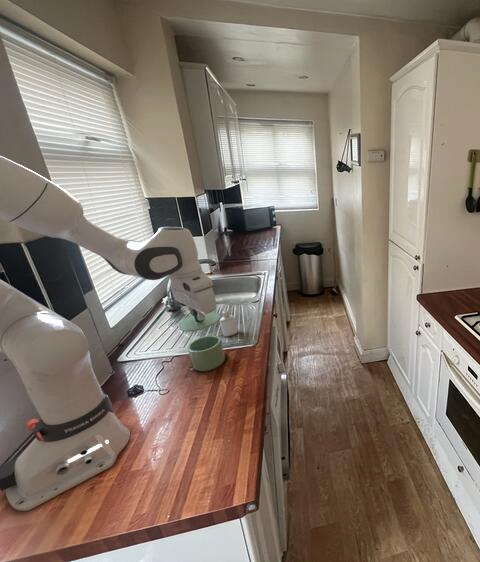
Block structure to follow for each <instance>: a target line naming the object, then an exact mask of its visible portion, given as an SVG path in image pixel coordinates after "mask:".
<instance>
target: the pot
mask: <svg viewBox="0 0 480 562" xmlns="http://www.w3.org/2000/svg"><path fill="white" fill-rule="evenodd" d="M187 351H188V355H189V358H190V362H191V365H192V367H193V370H195V371H197V372H204V371H206V372H207V371H210V370H213V369H216V368H218V367H219V366H221V365H222V364H223V363H224V362H225V360H226V355H225V351H224V348H223V343H222V340H221V337H220V336H218V335H212V334H211V335H205V336H202V337H198V338H196V339H194V340H192V341H191V342H190V343H189V344H188V345H187Z"/></svg>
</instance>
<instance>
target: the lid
mask: <svg viewBox="0 0 480 562" xmlns="http://www.w3.org/2000/svg"><path fill="white" fill-rule="evenodd" d="M192 311H193V315H194V317H192V316H191V315H189V316H187V317H185V318H183V319H182V320H181V321H179V323H178V329H179V330H180V331H183V332H187V333H188V332H198V331H202V330H205V329H208V328H210V327H213V326H214V325H216V324H217V323H218V322H220V319H221V315H220V314H219V313H218V312H216V311H213V312H210V313H208V314H204V315H205V319H204V320H201V321H200V320H198V319H197V315H198V314H197V311H196V309H193V310H192Z"/></svg>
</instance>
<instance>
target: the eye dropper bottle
mask: <svg viewBox="0 0 480 562" xmlns="http://www.w3.org/2000/svg"><path fill="white" fill-rule="evenodd" d="M221 314H222V316H221V317H220V319H219V323H220V327H221V331H222V332H221V333H222V336H223V337H231V336H234V335H236V334H238V326H237V322H236V318H235V316H234V315H232V314H230V311H229V310H227V308H226V307H225V308H223V311H222V313H221Z"/></svg>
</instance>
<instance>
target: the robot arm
mask: <svg viewBox="0 0 480 562" xmlns="http://www.w3.org/2000/svg"><path fill="white" fill-rule="evenodd" d="M0 220H3V221H4V222H7V223H9V224H11V225H13V226H16V227H19V228H21V229H24V230H26V231H29V232H32V233H34V234H35V233H36V234H38V235H41V236H45V237H49V238H53V239H61V240H65V241H68V242H71V243H73V244H75V245H77V246H79V247H81V248H83V249H85V250H88V251H89V252H92V253H93V254H96V255H97V256H99V257H101V258H102V259H104V260H105V262H106V263H107V264H108V265H109V266H110V267H111V268H112V269H113V270H114V271H116V272H118V273H119V274H121V275H127V276H132V277H136V278H138V279H142V280H147V281H158V280H161V279H164V278H166V277H169V280H170V289H171V292H172V296H173V297H172V298H174V300H175V301H177V302H178V303H181V304H183V305H185V306H186V308H187V309H188V311H189V313H190V316H192V317H194V315H193V311H192V310H193V309H196V311H197V314H198V315H197V319H198V320H200V321H201V320H204V319H205V315H204V314H208V313H210V312H216V310H217V300H216V294H215V292H214V289H213V288H212V287H213V286H214V283H213V282H214V281H213V279H212V278H211V277H210V276H208V275H207V274H206V272H205V271H204V270H203V268H202V265H201V262H200V261H199V252H198V248H197V245H196V242H195V238H194V237H193V234H192V233H191V231H190V229H188V228H186V227H183V226H162V227H159V228H158V229H157V231H156V232H155V234H154V235H153V236H152V237H150V238H149V239H148V240H146V241H144V242H140V241H136V240H132V239H127V238H120V237H117V236H116V235H114V234H112V233H110V232H109V231H106V230H105V229H103V228H101V227H100V226H97V225H96V224H95V223H93V222H91V221H90V220H89V219H87V218H86V217H85V215H84V207H83V206H82V203H81V201H79V200H78V199H77V198H76V197H74V196H73V195H72V194H70V193H69V192H68V191H67V190H65V189H64V188H62V187H61V186H60V185H58V184H56V183H54V182H52V181H51V180H49V179H48V178H46V177H44V176H42V175H40V174H38V173H37V172H35V171H33V170H31V169H29V168H27V167H25V166H23V165H22V164H19V163H17V162H15V161H12V160H11V159H8V158H6V157H4V156H1V155H0ZM89 348H90V347H89V340H88V339H87V337H86V335H85V333H84V332H83V330H82V329H81V327H79V326H78V325H76V324H75V323H73V322H71V321H70V320H68V319H66V318H65V317H63V316H62V315H60V314H59V313H56V312H55V311H54V310H51V309H50V308H48V307H46V306H45V305H43V304H42V303H40V302H38V301H37V300H35V299H34V298H32V297H30V296H28V295H27V294H25V293H23V292H22V291H20V290H18V289H17V288H15V287H14V286H13V285H11V284H9V283H7V282H6V281H4V280H2V279H1V278H0V353H2V354H3V355H4V356H6V357H7V358H8V359H9V361H10V362H11V363H12V364H13V366H14V367H15V369H16V371H17V373H18V375H19V377H20V379H21V381H22V383H23V385H24V386H23V387H24V388H25V390H26V394H27V397H28V399H29V400H30V401H31V404H32V405H33V407H34V408H35V411H36V413H37V414H38V415H39V417H40V419H37V418H32V419H29V420H28V421H27V422H26V424H25V427H26V428H27V430H28V431H32V433H33V435H34V437H35V438H34V439H33V440H31V442H30V443H29V445H28V446H26V448H25V449H24V450H23V451H22V452H21V453H20V454H19V455H18V456H17V457H15V458H13V459H11V460H8V461H5V462H4V463H3V462H2V463H1V464H0V491H1V492H3V491H5V496H6V499H7V501H8V503H9V505H10V506H11V507H12V508H13V509H15V511H16V510H17V511H20V512H27V511H31V510H33V509H35V508H36V507H38V506H40V505H41V504H44V503H45V502H48V501H49V500H51V499H53V498H55V497H57V496H59V495H61V494H62V493H64V492H66V491H68V490H70V489H72V488H74V487H75V486H77V485H79V484H81V483H83V482H85V481H87V480H89V479H90V478H92V477H95V476H96V475H98V474H100V473H102V472H104V471H106V470H107V469H109V468H111V467H113V465H114V464H115V463H116V460H117V458H118V456H119V454H120V453H121V451H122V450H123V449H125V447H126V446H127V444H128V442H129V440H130V438H131V431H130V429H129V428H128V427H127V426H126V425H124V424H123V423H122V422H121V420H120V419H119V418H118V416H116V414H115V412H114V408H113V404H112V402H111V399H110V397H109V396H108V394H107V393H106V392H105V391H104V390H102V387H101V384H100V382H99V381H98V378H97V376H96V373H95V372H94V369H93V365H92V359H91V355H90V349H89Z"/></svg>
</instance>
